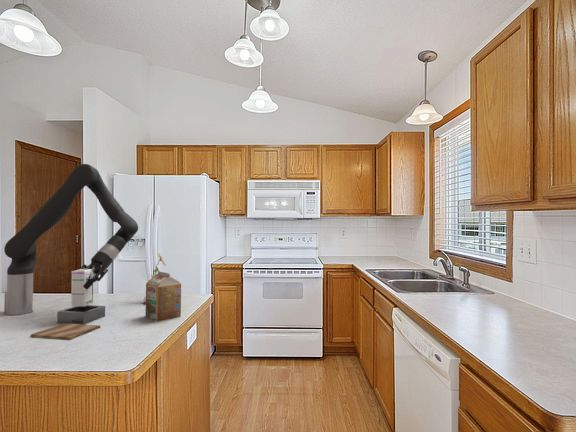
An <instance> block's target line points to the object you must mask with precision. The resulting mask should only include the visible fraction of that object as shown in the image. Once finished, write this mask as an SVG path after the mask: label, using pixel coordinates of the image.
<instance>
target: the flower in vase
mask: <svg viewBox="0 0 576 432" xmlns="http://www.w3.org/2000/svg"><path fill="white" fill-rule="evenodd" d="M157 256H158V257H159V260H158V261H157V263H156V266H155V269H153V273H155V274H150V275H149V276H150V277H151V279H152V278H153V277H154V276H156V275H157V274H158V271H160V269H159V267H158V265H159V263H160V262H161V263H162V264H163V265H164V267H166V266H167V264H166V262H165V260H164V258H163V256H162V255H161V253H160V252H157ZM142 300H143V302H144V303H146V295H145V296H144V297H143V299H142Z"/></svg>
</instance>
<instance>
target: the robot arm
mask: <svg viewBox="0 0 576 432" xmlns="http://www.w3.org/2000/svg"><path fill="white" fill-rule="evenodd" d="M85 187H87V188H88V189H89V190H90V191H91V192H92V194H94V196H95V197H96V199H97V200H98V203H99V204H100V206H101V209H103V211H104V212H105V214H106V215H107V216H108V218H109V219H110V220H111V221H112V222H113V223H117V224H118V225H119V226H120V228H119V229H118V230H117V231H116V232H115V234H113V235H112V236H111V237H110V238H109V239H108V241H107V242H105V244H104V245H102V247H100V248H99V249H98V251H97V252H96V253H95V254H94V256H92V258H91V259H90V261H91V262H90V264H89V265H87V264H83V265H82V266H81V267H80V268H79V269H78V270H80V269H92V271H91V277H90V279H89V280H88V281H87V282H86V283H85V284H84V285H83V287H84V288H85V289H88V288H89V287H90V286H91V285H92V284H93V285H94V283H96V282H100V281H101V280H102V279H103V278H104V277H105V275H106V274H107V273H108V272H109V269H108V268H109V267H110V265H111V264H112V263H113V262H114V261H115V260H116V258H118V256H119V254H120V253H121V252H122V250H124V248H125V246H126V244H128V242H129V241H131V239H132V238H133V237H134V236H135V235H136V233H137V232H138V231H139V225H138V223H137V221H136V220H135V219H134V218H133V217H131V216H130V215H129V214H128V213H127V212H126V211H125V210H124V209H123V207H122V206H121V205H120V203H119V201H117V199H116V198H115V196H114V195H113V194H112V193H111V191H109V188H108V187H107V185H106V184H105V182H104V180H103V178H102V176H101V174H100V172H99V170H98V169H96V168H95V167H94V166H92V165H90V164H88V163H82V164H79V165H77V166H76V167H75V168H74V169H73V170H72V172H70V174H69V176H68V177H67V178H66V180H65V181H64V183H63V184H62V185H60V187H59V188H58V189H56V191H55V192H54V193H53V195H51V197H49V198H48V199H47V200H46V201H45V203H44V204H43V205H42V206H41V207H40V208H39V210H37V212H36V213H35V214H34V215H33V216H32V218H31V219H30V220H29V221H28V222H27V223H26V224H25V225H24V226H23V227H22V228H21V229H20V230H19V231H18V232H17V233H15V235H13V236H12V237H11V238H10V239H8V241H7V242H6V243H5V245H4V248H3V249H4V253H5V254H4V255H5V256H6V257H8V258H9V259H11V262H10V264H9V266H8V267H7V270H6V291H4V302H3V303H4V305H3V307H4V311H3V314H6V315H8V316H18V315H25V314H28V313H29V314H30V313H31V312H33V309H34V308H33V306H34V305H33V304H34V303H33V301H34V271H35V270H34V269H35V267H36V263H37V245H36V244H37V243H36V242H37V241H38V239H39V238H40V237H41V236H42V235H44V234H45V233H46V232H48V231H49V230H50V229H52V228H53V227H55V226H56V225H57V224H58V223H59V222H60V221H61V220H62V219H63V218H64V217H65V216H66V215H67V213H68V212H69V211H70V209H71V208H72V206H73V204H74V201H75V199H76V197H77V195H78V194H79V193H80V192H81V191H82V189H84V188H85ZM71 286H72V282H71Z"/></svg>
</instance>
